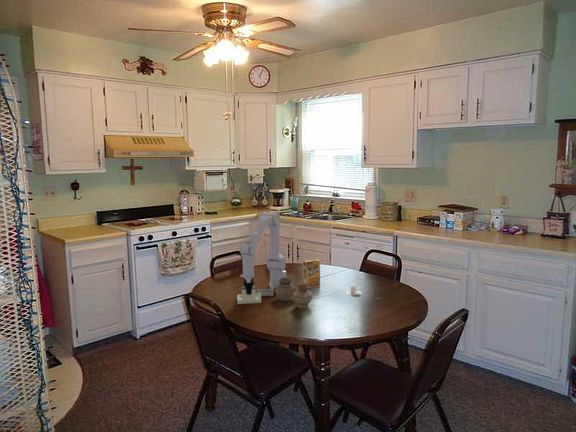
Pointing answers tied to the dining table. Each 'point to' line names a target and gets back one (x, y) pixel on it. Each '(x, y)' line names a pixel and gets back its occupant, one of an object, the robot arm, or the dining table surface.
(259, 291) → the bay
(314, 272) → the candy box
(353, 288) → the white headphones
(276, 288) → the pottery
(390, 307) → the dining table surface
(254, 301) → the tray
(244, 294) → the block
